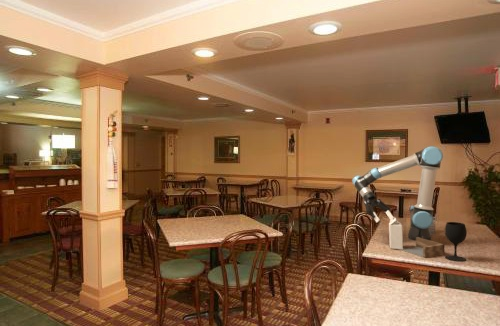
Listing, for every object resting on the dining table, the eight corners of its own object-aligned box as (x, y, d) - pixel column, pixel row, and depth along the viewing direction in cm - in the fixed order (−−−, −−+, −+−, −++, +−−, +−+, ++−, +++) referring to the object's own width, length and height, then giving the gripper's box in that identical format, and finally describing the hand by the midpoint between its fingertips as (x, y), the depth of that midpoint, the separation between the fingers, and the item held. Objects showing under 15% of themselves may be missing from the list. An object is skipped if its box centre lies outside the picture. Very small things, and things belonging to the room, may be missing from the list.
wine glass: (466, 262, 177) (466, 226, 177) (444, 259, 183) (444, 224, 183) (466, 257, 186) (466, 222, 186) (445, 254, 192) (445, 221, 191)
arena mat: (417, 247, 209) (417, 246, 209) (440, 253, 194) (440, 253, 194) (400, 249, 203) (400, 249, 203) (423, 257, 188) (423, 256, 188)
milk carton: (401, 246, 209) (400, 217, 209) (402, 249, 202) (402, 218, 202) (389, 246, 211) (388, 216, 211) (390, 248, 204) (389, 218, 205)
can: (436, 234, 240) (436, 218, 240) (419, 233, 244) (419, 217, 243) (434, 231, 250) (434, 216, 250) (417, 230, 254) (417, 215, 254)
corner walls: (417, 246, 210) (417, 237, 210) (444, 254, 193) (444, 244, 193) (398, 249, 204) (398, 239, 203) (425, 257, 186) (425, 247, 186)
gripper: (377, 197, 234) (395, 221, 221) (351, 199, 222) (368, 225, 209) (383, 190, 229) (402, 215, 216) (357, 192, 217) (375, 218, 204)
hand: (385, 220), depth 212 cm, fingers open, 13 cm apart
